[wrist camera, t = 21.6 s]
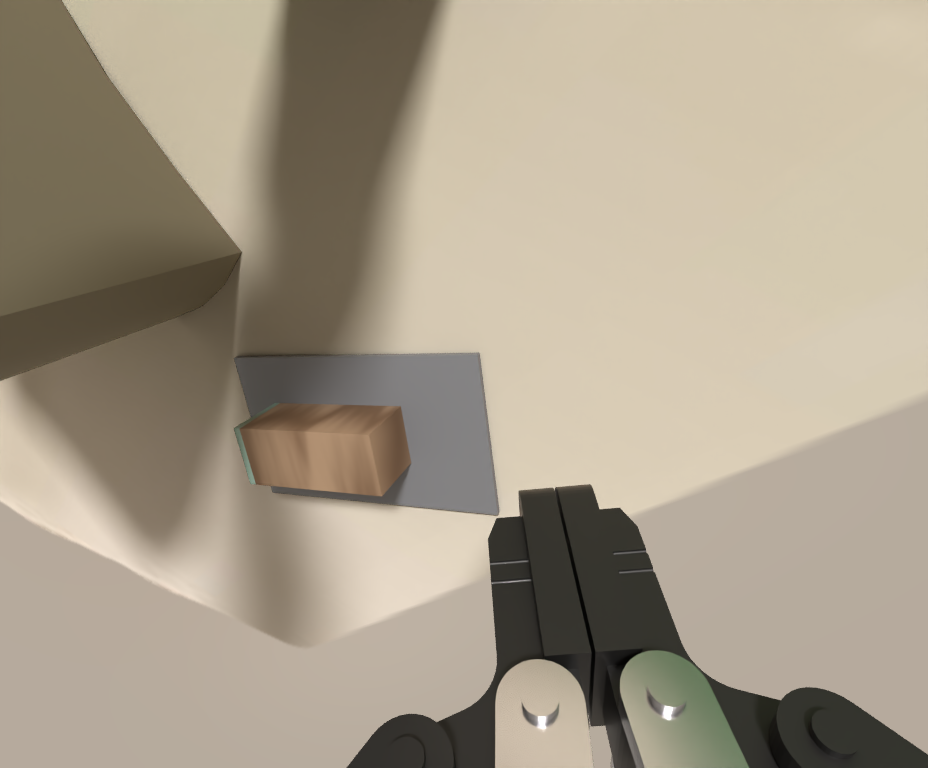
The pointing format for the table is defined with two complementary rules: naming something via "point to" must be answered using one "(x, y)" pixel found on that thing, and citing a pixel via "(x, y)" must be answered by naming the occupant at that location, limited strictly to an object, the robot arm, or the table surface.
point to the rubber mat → (424, 414)
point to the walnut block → (325, 447)
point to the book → (87, 203)
